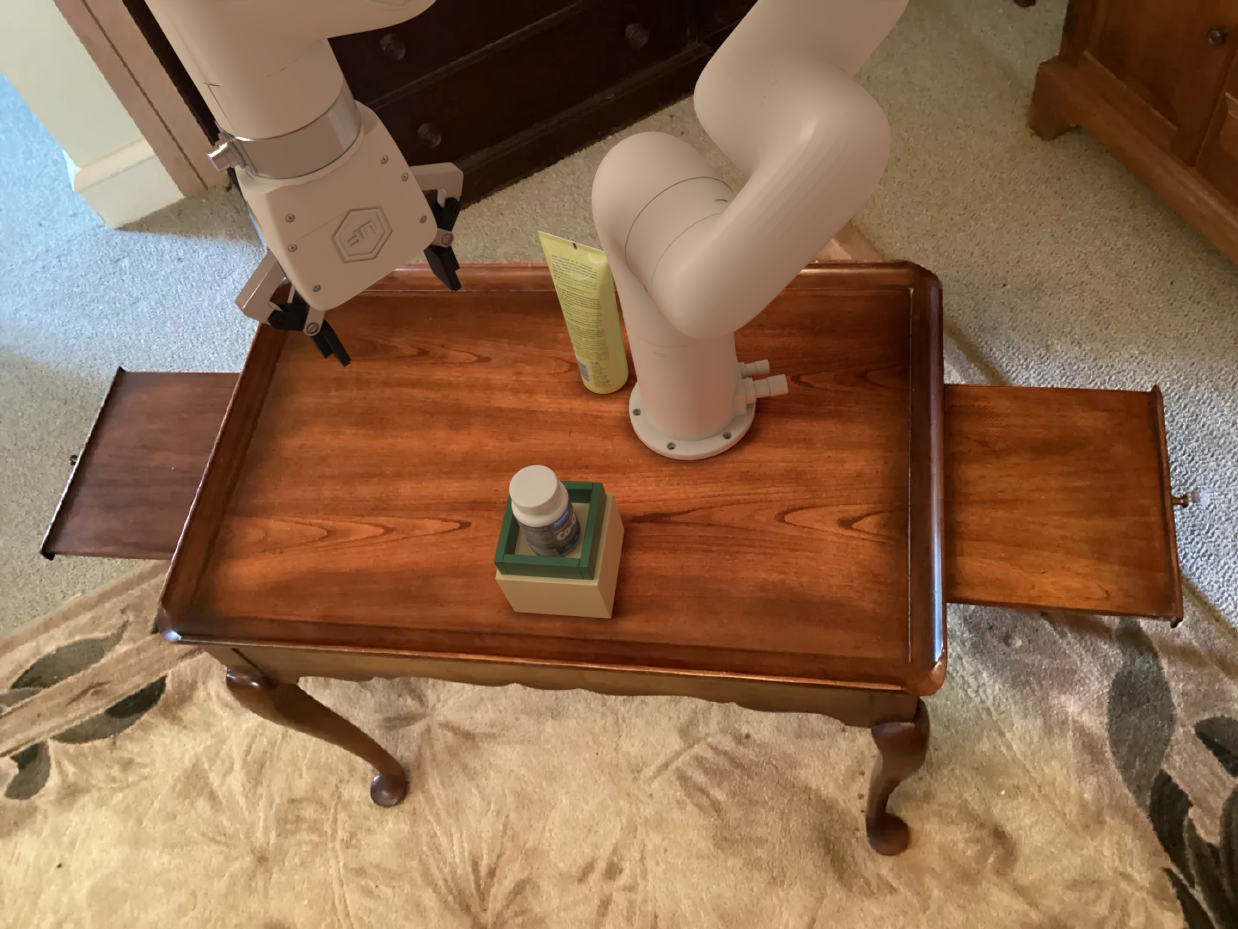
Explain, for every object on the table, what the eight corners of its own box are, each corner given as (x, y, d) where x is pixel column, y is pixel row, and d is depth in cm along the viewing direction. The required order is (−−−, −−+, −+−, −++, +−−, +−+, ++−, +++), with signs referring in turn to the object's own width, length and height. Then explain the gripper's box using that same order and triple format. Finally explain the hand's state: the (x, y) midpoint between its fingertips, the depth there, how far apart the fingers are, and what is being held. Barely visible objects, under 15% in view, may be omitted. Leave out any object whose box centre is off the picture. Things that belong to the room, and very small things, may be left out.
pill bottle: (575, 562, 81) (554, 514, 74) (522, 556, 83) (497, 508, 76) (587, 513, 84) (568, 462, 77) (535, 508, 85) (512, 457, 78)
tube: (629, 350, 102) (598, 213, 86) (640, 387, 99) (610, 252, 83) (577, 364, 102) (536, 229, 86) (587, 401, 99) (546, 269, 83)
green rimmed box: (624, 530, 90) (608, 477, 82) (611, 619, 86) (592, 572, 78) (532, 525, 92) (508, 473, 84) (514, 612, 88) (486, 566, 80)
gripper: (189, 233, 52) (318, 415, 66) (448, 75, 56) (517, 278, 71) (137, 170, 56) (270, 355, 70) (384, 26, 60) (461, 229, 74)
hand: (394, 316), depth 70 cm, fingers open, 9 cm apart
